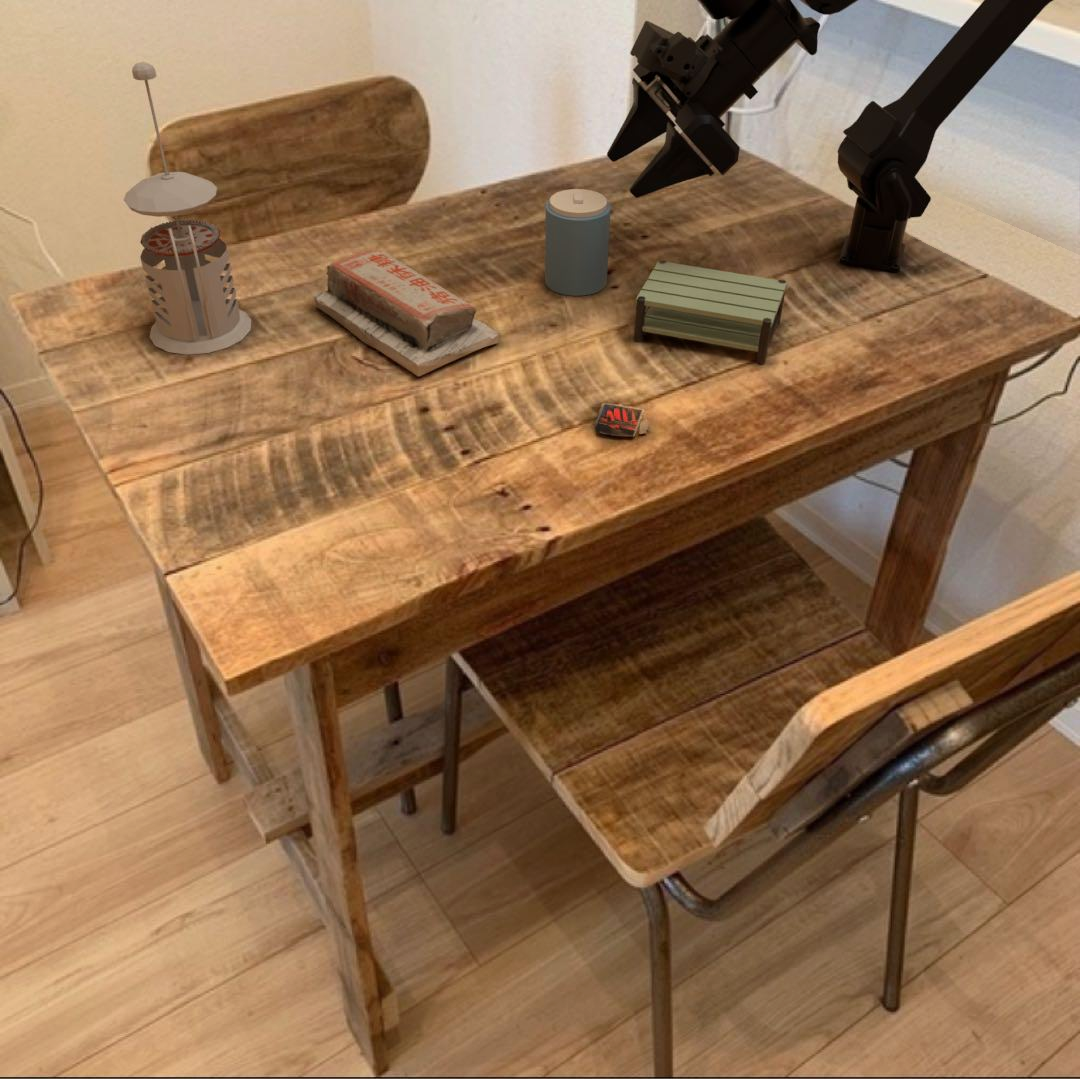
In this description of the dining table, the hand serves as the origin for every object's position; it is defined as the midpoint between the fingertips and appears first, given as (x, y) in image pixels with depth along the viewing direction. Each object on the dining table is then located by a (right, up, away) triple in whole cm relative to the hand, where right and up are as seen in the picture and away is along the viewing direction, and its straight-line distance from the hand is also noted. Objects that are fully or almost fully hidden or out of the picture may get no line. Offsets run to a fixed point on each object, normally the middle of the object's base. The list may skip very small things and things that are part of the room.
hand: (620, 175), depth 107 cm
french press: (-41, -16, -2) cm, 44 cm away
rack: (+9, -16, -1) cm, 18 cm away
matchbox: (-1, -26, -14) cm, 30 cm away
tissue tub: (-4, -9, +7) cm, 12 cm away
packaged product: (-21, -15, -1) cm, 27 cm away
